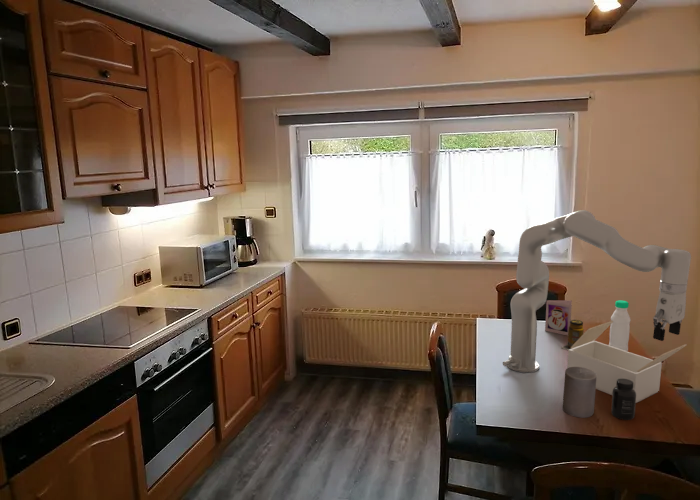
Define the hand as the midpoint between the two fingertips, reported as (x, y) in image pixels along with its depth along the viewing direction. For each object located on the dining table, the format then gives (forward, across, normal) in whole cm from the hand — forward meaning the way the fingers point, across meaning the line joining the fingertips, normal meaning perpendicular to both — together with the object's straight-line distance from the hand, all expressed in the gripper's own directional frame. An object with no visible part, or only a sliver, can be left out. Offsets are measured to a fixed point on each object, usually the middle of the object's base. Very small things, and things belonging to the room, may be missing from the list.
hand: (666, 336), depth 172 cm
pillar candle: (+25, -27, +12) cm, 38 cm away
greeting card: (+26, +31, +62) cm, 74 cm away
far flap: (+8, 0, +26) cm, 27 cm away
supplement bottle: (+24, -18, +2) cm, 30 cm away
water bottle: (+25, +22, +28) cm, 43 cm away
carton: (+24, 0, +17) cm, 30 cm away
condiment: (+25, +19, +46) cm, 56 cm away
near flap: (+8, 0, +1) cm, 8 cm away
